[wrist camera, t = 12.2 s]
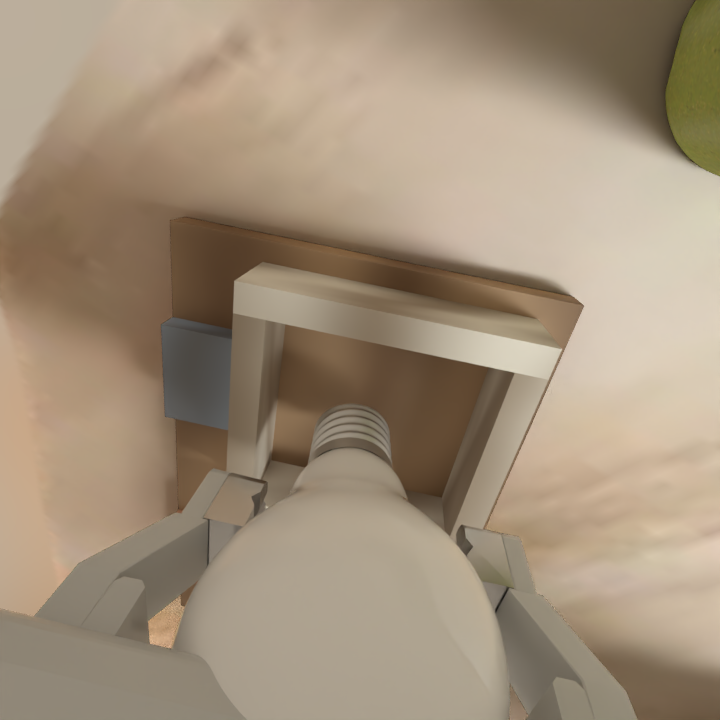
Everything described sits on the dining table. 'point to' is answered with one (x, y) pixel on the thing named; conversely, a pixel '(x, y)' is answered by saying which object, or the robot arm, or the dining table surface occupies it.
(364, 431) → the lightbulb
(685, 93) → the plant pot
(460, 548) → the robot arm
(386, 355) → the socket board
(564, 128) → the dining table surface
